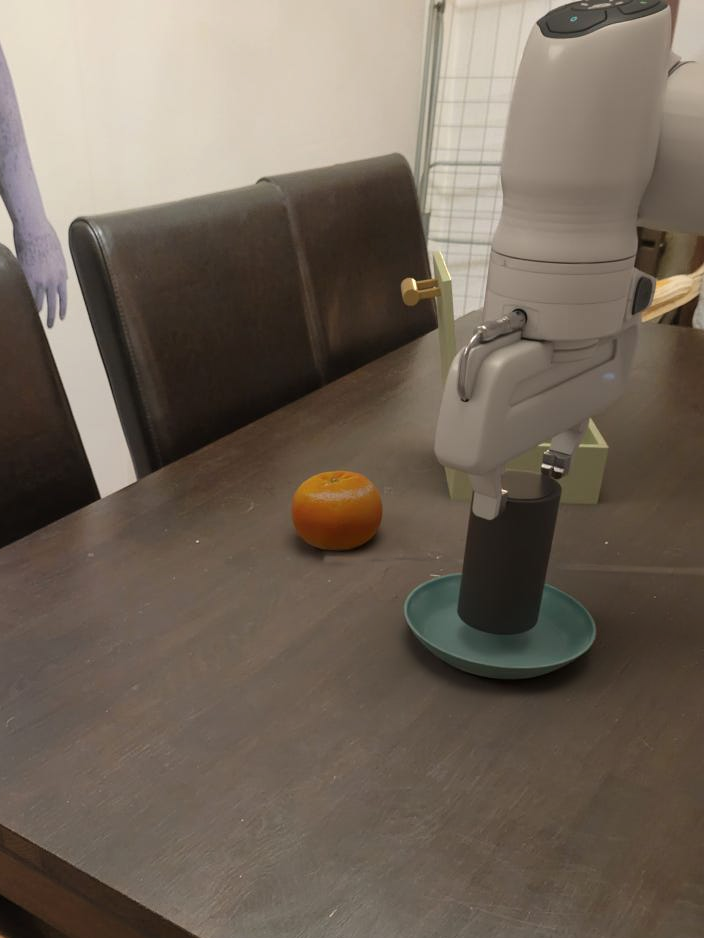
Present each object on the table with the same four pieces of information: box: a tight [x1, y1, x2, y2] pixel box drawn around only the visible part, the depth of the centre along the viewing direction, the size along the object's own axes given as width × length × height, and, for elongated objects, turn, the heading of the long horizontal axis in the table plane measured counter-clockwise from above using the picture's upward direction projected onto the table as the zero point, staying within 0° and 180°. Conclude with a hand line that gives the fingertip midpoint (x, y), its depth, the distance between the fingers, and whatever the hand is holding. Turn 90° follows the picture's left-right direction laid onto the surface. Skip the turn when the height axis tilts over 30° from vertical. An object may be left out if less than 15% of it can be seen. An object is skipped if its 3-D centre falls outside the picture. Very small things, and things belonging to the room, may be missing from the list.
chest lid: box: [400, 250, 457, 393], centre depth 97 cm, size 15×14×4 cm
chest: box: [443, 417, 610, 505], centre depth 102 cm, size 15×14×7 cm
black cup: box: [457, 469, 562, 635], centre depth 73 cm, size 6×6×11 cm
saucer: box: [403, 572, 597, 680], centre depth 76 cm, size 15×15×3 cm
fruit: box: [290, 470, 383, 551], centre depth 91 cm, size 8×8×8 cm
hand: (523, 494), depth 69 cm, fingers open, 8 cm apart
